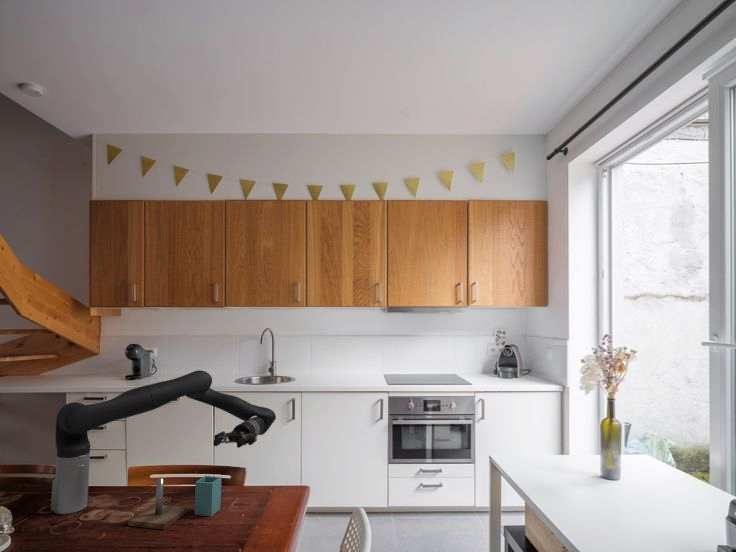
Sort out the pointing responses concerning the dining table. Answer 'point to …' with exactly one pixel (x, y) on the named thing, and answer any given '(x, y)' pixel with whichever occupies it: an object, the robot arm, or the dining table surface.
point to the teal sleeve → (207, 496)
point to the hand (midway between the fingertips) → (226, 444)
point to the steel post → (159, 496)
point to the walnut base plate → (157, 517)
